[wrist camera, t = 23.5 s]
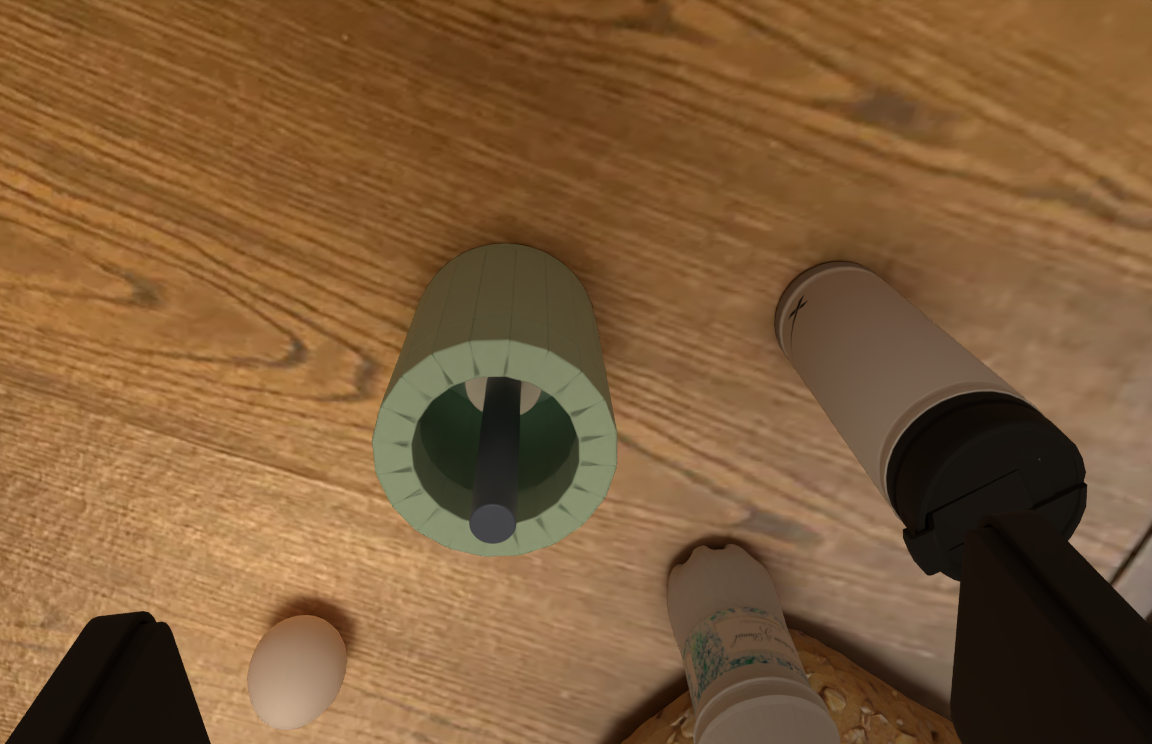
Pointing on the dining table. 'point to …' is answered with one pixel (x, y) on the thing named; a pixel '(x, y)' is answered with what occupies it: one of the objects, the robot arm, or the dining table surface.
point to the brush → (498, 454)
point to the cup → (452, 423)
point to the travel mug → (924, 414)
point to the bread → (853, 698)
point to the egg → (296, 671)
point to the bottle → (741, 655)
